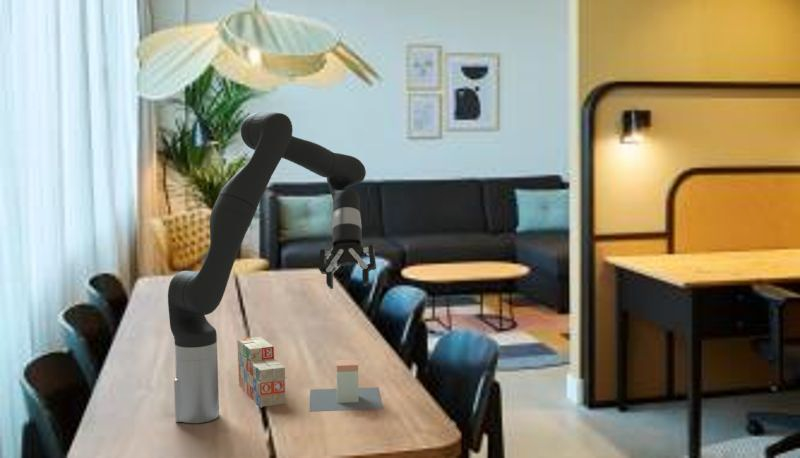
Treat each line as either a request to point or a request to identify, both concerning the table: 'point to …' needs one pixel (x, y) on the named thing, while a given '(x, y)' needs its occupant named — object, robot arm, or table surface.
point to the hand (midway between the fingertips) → (347, 286)
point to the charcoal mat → (328, 402)
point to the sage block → (347, 381)
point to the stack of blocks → (260, 372)
